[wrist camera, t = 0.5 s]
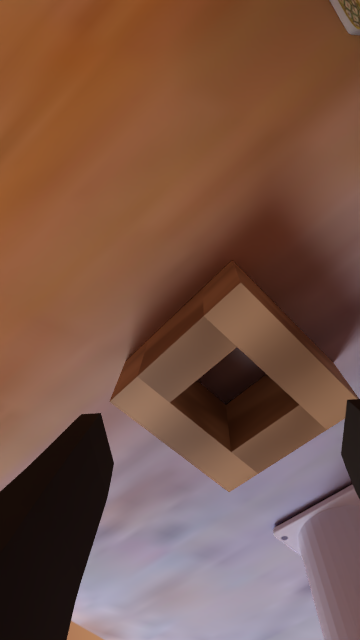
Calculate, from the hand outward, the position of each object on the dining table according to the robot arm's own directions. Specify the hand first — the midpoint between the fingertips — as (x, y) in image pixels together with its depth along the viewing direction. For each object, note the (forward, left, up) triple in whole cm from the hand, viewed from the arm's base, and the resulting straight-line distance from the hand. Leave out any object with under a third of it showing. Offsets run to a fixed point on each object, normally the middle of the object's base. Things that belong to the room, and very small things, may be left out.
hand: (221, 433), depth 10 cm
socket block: (-3, +2, -10) cm, 11 cm away
